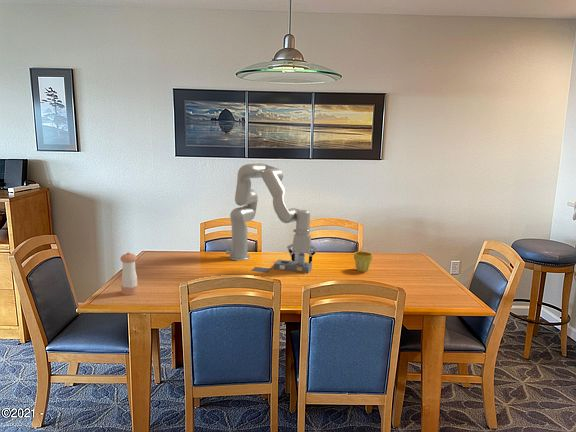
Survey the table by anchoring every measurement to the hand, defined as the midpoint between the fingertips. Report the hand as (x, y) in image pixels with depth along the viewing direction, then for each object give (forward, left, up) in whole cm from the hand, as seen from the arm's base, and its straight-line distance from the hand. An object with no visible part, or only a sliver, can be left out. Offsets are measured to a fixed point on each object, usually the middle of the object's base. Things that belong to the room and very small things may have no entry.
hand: (301, 261), depth 236 cm
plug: (0, 0, -5) cm, 5 cm away
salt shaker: (-67, -62, -5) cm, 92 cm away
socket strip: (-5, 0, -5) cm, 7 cm away
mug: (-7, +17, -5) cm, 19 cm away
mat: (-21, -8, -5) cm, 23 cm away
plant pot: (+33, +13, -5) cm, 36 cm away
